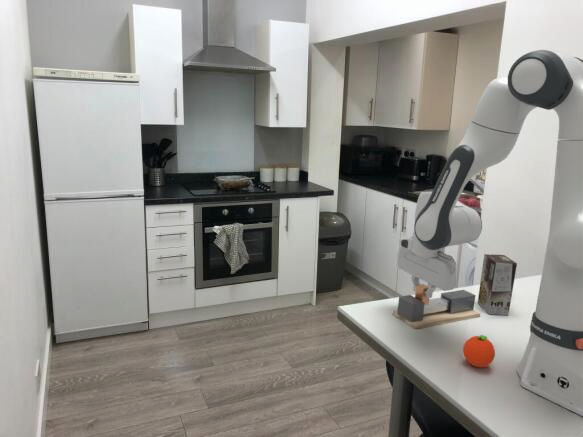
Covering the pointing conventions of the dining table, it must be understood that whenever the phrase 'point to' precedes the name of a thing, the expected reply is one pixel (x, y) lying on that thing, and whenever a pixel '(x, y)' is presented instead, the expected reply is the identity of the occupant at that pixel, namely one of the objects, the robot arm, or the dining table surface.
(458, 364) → the dining table surface
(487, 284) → the coffee box
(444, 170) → the robot arm
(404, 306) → the socket block
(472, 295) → the sleeve
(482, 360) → the clementine
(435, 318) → the oak board
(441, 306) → the bar
